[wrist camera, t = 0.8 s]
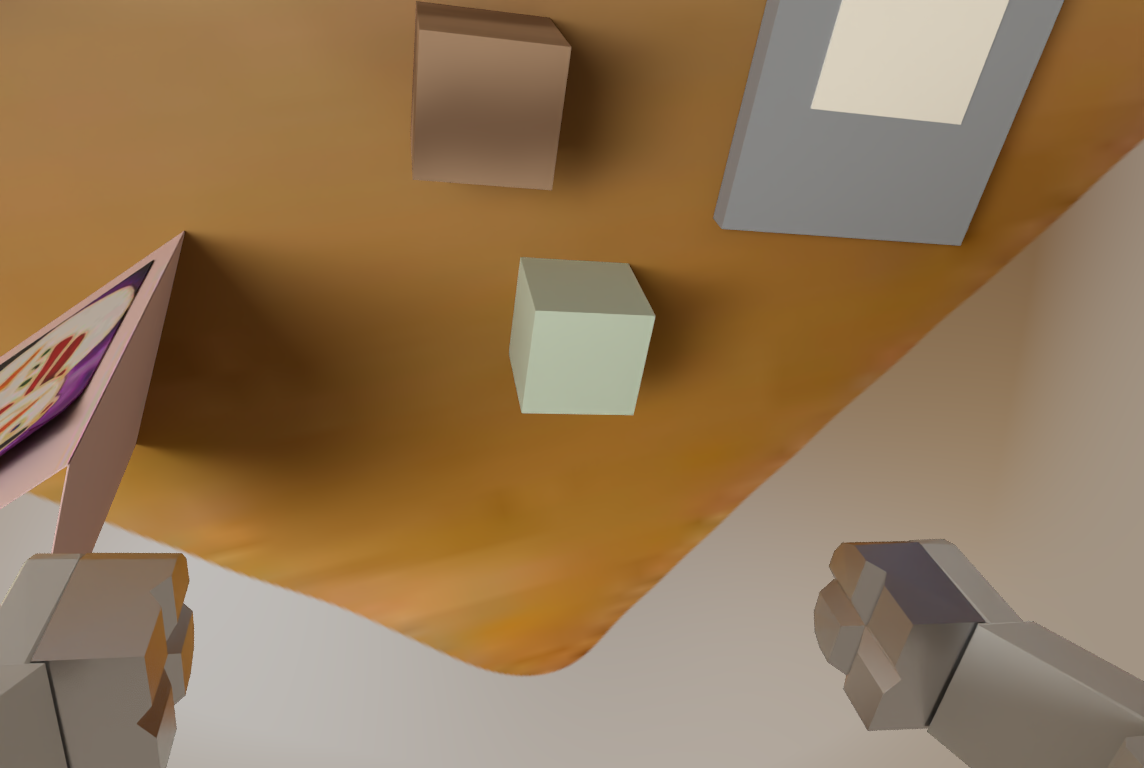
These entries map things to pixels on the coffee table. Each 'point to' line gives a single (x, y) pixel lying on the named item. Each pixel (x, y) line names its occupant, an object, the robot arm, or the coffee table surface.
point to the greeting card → (84, 396)
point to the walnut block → (486, 96)
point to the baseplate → (878, 115)
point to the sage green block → (579, 337)
